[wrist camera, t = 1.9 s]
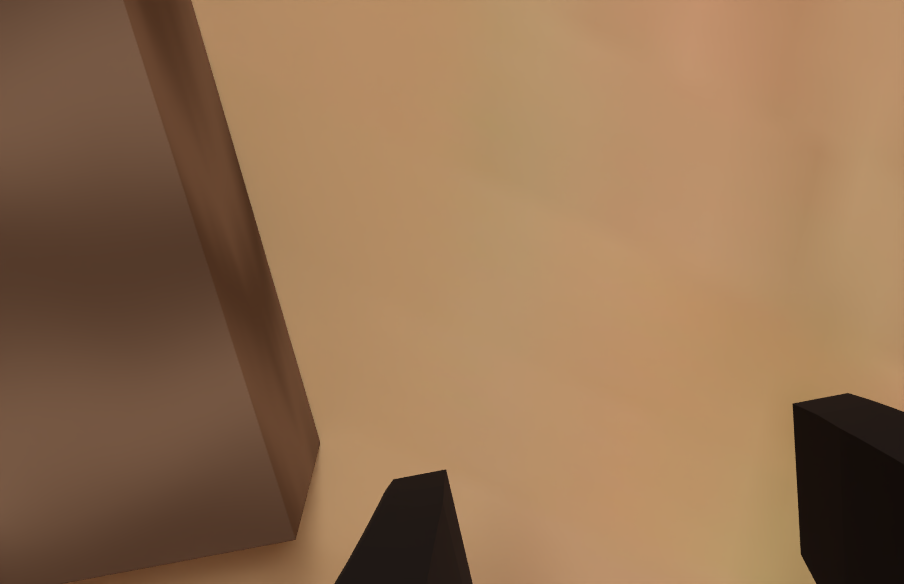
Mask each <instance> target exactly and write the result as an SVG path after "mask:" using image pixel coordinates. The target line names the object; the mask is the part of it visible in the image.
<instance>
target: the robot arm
mask: <svg viewBox="0 0 904 584" xmlns="http://www.w3.org/2000/svg"><path fill="white" fill-rule="evenodd" d="M793 419H794V437H795V455H796V473H797V492H798V510H799V528H800V546H801V555H802V557H803V559H804V561H805V563H806V565H807V567H808V569H809V571H810V572H811V574H812V576H813V578H814V580H815V582H816V584H904V412H902V411H900V410H897V409H894V408H892V407H889V406H886V405H883V404H880V403H878V402H875V401H872V400H869V399H866V398H862V397H859V396H856V395H852V394H849V393H846V394H841V395H836V396H830V397H825V398H820V399H815V400H809V401H804V402H799V403H794V404H793ZM335 584H472V579H471V575H470V571H469V566H468V562H467V558H466V553H465V549H464V545H463V540H462V536H461V532H460V528H459V523H458V519H457V515H456V510H455V506H454V502H453V497H452V493H451V489H450V484H449V480H448V476H447V472H446V470H441V471H436V472H430V473H425V474H420V475H415V476H409V477H404V478H399V479H393V481H392V482H391V484H390V485H389V486H388V488H387V489H386V491H385V492H384V494H383V496H382V498H381V500H380V502H379V504H378V506H377V508H376V510H375V512H374V514H373V516H372V518H371V520H370V521H369V523H368V525H367V527H366V529H365V531H364V533H363V535H362V536H361V538H360V540H359V542H358V544H357V545H356V547H355V549H354V551H353V553H352V555H351V556H350V558H349V560H348V562H347V563H346V565H345V567H344V568H343V570H342V572H341V574H340V575H339V577H338V579H337V580H336V582H335Z"/></svg>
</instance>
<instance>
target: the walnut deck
mask: <svg viewBox="0 0 904 584" xmlns="http://www.w3.org/2000/svg"><path fill="white" fill-rule="evenodd" d="M319 445H320V440H319V437H318V434H317V430H316V427H315V423H314V420H313V416H312V413H311V410H310V406H309V403H308V399H307V396H306V392H305V389H304V386H303V382H302V379H301V375H300V372H299V368H298V365H297V362H296V358H295V355H294V351H293V348H292V344H291V341H290V338H289V334H288V331H287V327H286V324H285V320H284V317H283V314H282V310H281V307H280V303H279V300H278V296H277V293H276V290H275V286H274V283H273V279H272V276H271V272H270V269H269V266H268V262H267V259H266V255H265V252H264V249H263V245H262V242H261V238H260V235H259V231H258V228H257V225H256V221H255V218H254V214H253V211H252V207H251V204H250V201H249V197H248V194H247V190H246V187H245V183H244V180H243V177H242V173H241V170H240V166H239V163H238V159H237V156H236V153H235V149H234V146H233V142H232V139H231V135H230V132H229V129H228V125H227V122H226V118H225V115H224V111H223V108H222V105H221V101H220V98H219V94H218V91H217V88H216V84H215V81H214V77H213V74H212V70H211V67H210V64H209V60H208V57H207V53H206V50H205V46H204V43H203V40H202V36H201V33H200V29H199V26H198V22H197V19H196V16H195V12H194V9H193V5H192V2H191V0H0V584H63V583H68V582H73V581H79V580H84V579H89V578H95V577H100V576H105V575H111V574H116V573H121V572H127V571H132V570H137V569H143V568H148V567H153V566H158V565H164V564H169V563H174V562H180V561H185V560H190V559H196V558H201V557H206V556H212V555H217V554H222V553H228V552H233V551H238V550H244V549H249V548H254V547H259V546H265V545H270V544H275V543H281V542H286V541H291V540H296V536H297V532H298V528H299V524H300V520H301V516H302V512H303V508H304V504H305V500H306V497H307V493H308V489H309V485H310V481H311V477H312V473H313V469H314V465H315V461H316V457H317V453H318V449H319Z"/></svg>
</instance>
